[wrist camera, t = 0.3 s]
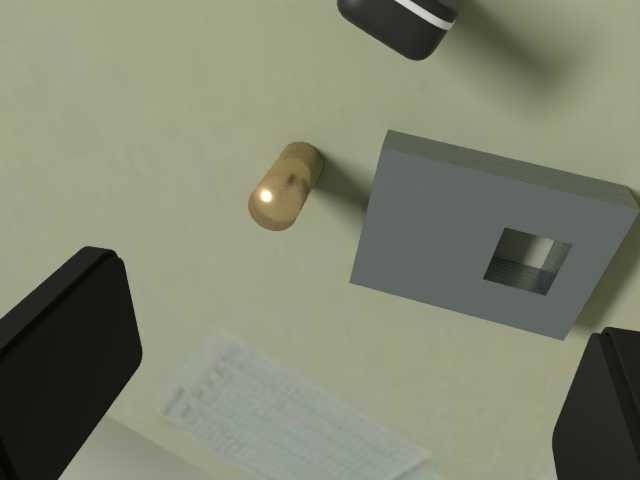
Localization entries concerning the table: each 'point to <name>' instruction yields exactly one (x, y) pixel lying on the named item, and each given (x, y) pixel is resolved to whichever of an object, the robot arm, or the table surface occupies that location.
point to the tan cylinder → (286, 187)
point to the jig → (487, 233)
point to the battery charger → (403, 22)
